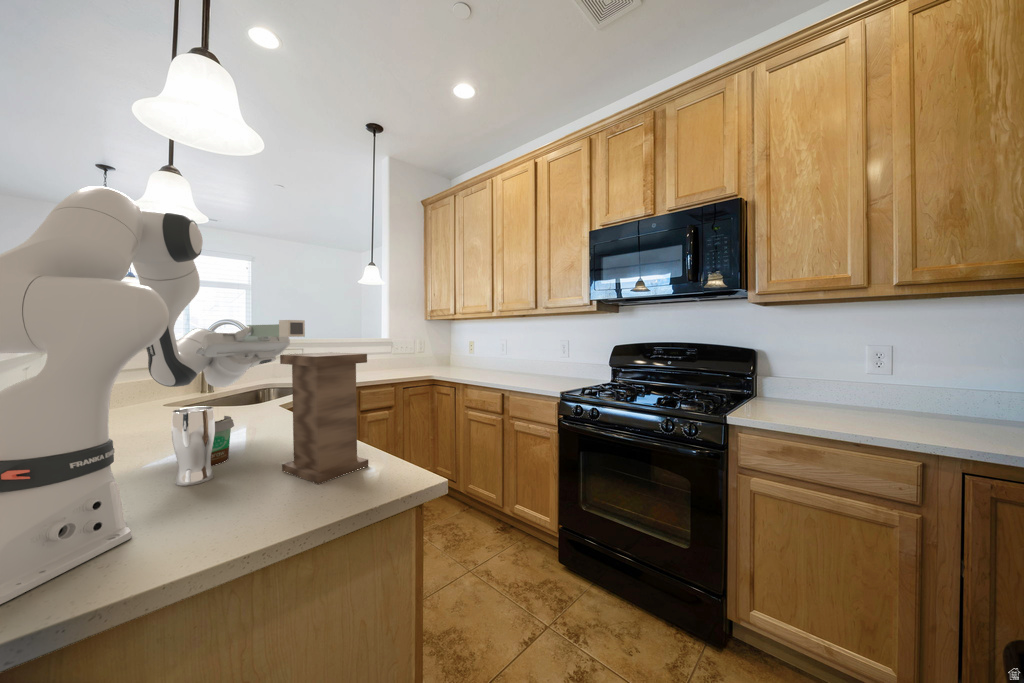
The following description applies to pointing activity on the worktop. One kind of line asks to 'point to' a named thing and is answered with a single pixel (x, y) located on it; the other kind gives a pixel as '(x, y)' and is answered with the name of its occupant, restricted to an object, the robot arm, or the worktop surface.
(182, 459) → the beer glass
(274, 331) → the sage bar
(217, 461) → the food container
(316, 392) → the wooden pedestal column
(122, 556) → the worktop surface
